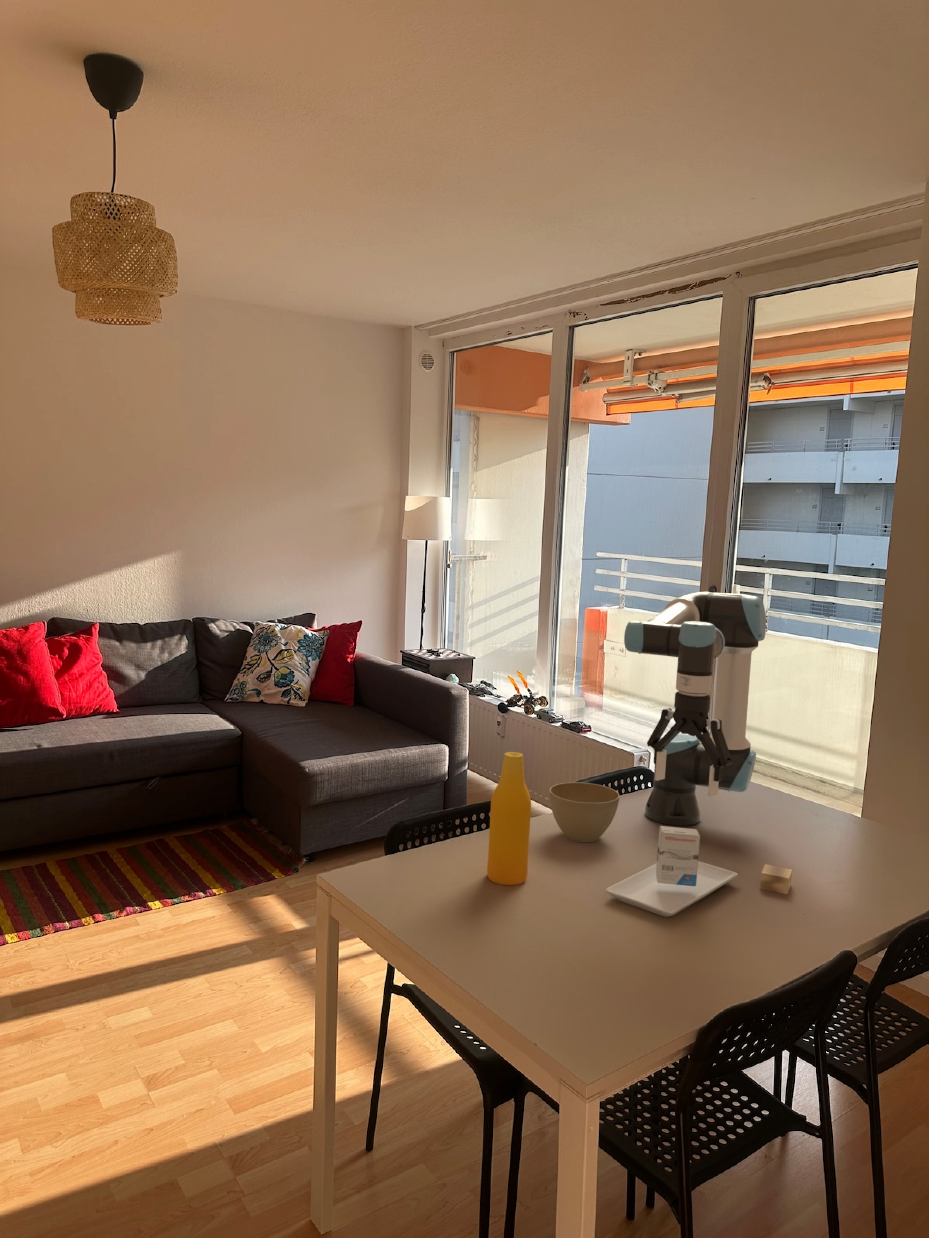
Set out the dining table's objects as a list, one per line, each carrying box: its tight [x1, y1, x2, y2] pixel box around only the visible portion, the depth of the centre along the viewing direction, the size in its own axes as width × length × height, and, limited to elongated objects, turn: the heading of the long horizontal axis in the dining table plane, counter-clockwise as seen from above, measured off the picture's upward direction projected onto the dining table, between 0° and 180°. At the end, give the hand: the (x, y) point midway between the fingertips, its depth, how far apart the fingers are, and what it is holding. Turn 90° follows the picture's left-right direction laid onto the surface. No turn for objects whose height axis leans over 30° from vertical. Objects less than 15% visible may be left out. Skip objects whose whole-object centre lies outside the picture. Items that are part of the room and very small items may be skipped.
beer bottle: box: [486, 751, 532, 886], centre depth 202 cm, size 9×9×29 cm
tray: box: [605, 860, 738, 918], centre depth 200 cm, size 17×31×4 cm, turn 138°
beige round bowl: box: [549, 781, 620, 843], centre depth 232 cm, size 18×18×12 cm
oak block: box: [760, 863, 793, 895], centre depth 205 cm, size 6×6×4 cm
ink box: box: [656, 825, 701, 886], centre depth 199 cm, size 8×5×12 cm, turn 83°
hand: (685, 787), depth 197 cm, fingers open, 13 cm apart
